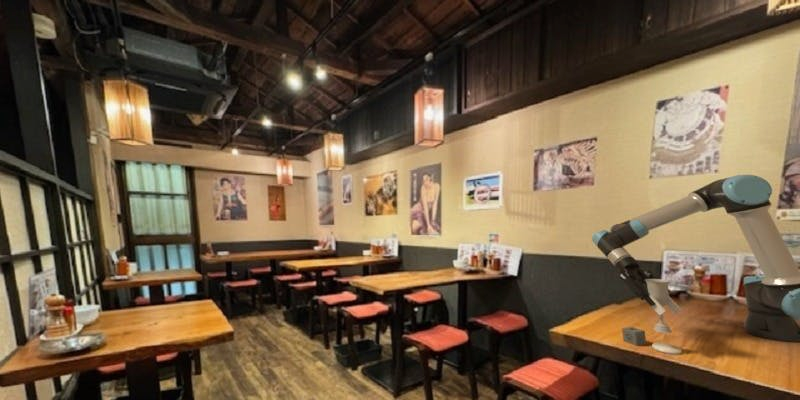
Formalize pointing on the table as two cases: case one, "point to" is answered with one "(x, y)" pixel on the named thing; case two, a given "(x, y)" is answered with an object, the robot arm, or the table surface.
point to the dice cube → (634, 336)
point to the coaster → (667, 348)
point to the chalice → (659, 299)
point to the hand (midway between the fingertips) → (670, 312)
